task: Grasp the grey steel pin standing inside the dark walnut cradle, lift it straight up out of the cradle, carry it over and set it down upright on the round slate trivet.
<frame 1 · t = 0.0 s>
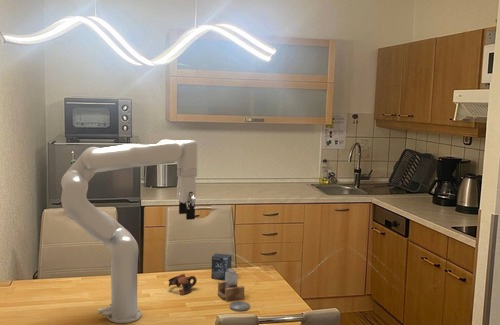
hand: (186, 216, 202), 37 cm above the table, tool pointing down, fingers open, 9 cm apart
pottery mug: (182, 291, 224), on the table
box: (221, 278, 241), on the table
trivet: (239, 307, 208), on the table
cradle: (230, 295, 219), on the table
pin: (230, 296, 219), resting in cradle
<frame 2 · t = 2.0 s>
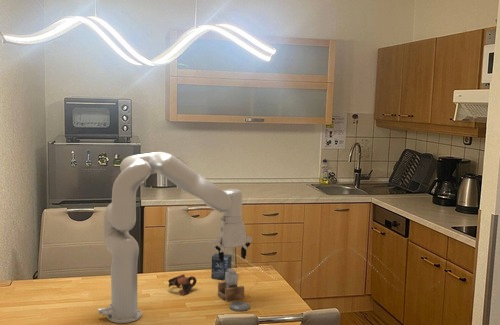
hand: (232, 259, 217), 16 cm above the table, tool pointing down, fingers open, 9 cm apart
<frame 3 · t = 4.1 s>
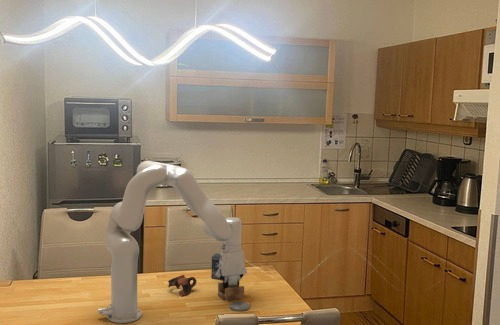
hand: (231, 289, 219), 3 cm above the table, tool pointing down, fingers closed on pin, 4 cm apart
pin: (230, 296, 219), resting in cradle, touching gripper
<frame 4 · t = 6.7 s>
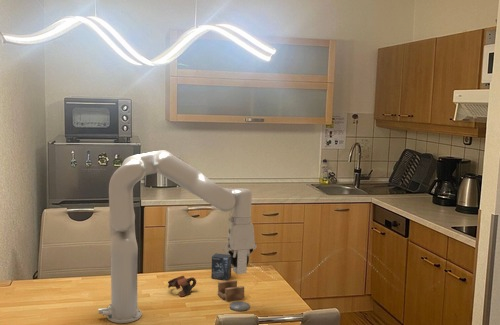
hand: (239, 265, 206), 17 cm above the table, tool pointing down, fingers closed on pin, 4 cm apart
pin: (239, 272, 207), point 14 cm above the table, touching gripper
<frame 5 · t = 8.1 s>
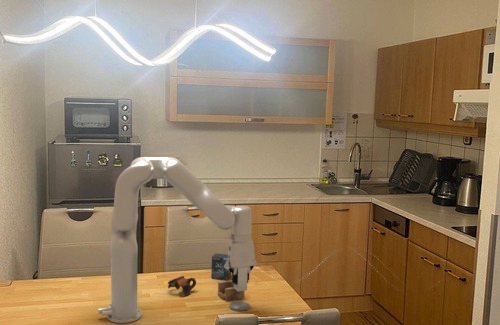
hand: (240, 282, 207), 10 cm above the table, tool pointing down, fingers closed on pin, 4 cm apart
pin: (240, 289, 207), point 7 cm above the table, touching gripper
when the fingers open (5 cm above the table, at t = 9.4 s): pin drops 1 cm, resting on trivet.
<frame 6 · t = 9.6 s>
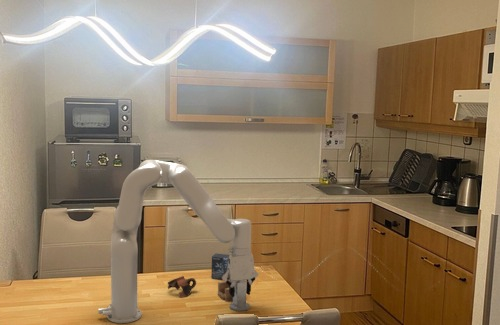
hand: (239, 294, 207), 5 cm above the table, tool pointing down, fingers open, 6 cm apart
pin: (239, 305, 208), point 1 cm above the table, touching trivet
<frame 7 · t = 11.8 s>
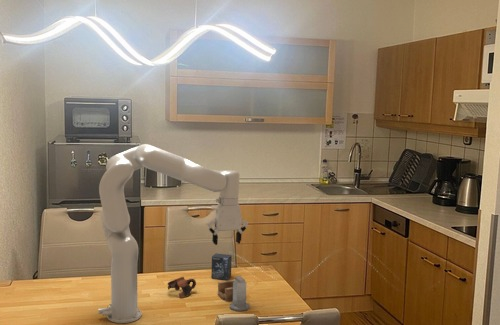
hand: (226, 243, 210), 24 cm above the table, tool pointing down, fingers open, 9 cm apart
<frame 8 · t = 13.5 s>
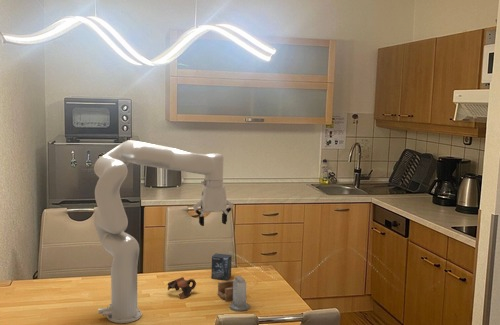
hand: (213, 224, 216), 30 cm above the table, tool pointing down, fingers open, 9 cm apart
at the end: pin 0.2 cm from the trivet (horizontally); pin tilted 0°; pin point 0.8 cm above the table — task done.
